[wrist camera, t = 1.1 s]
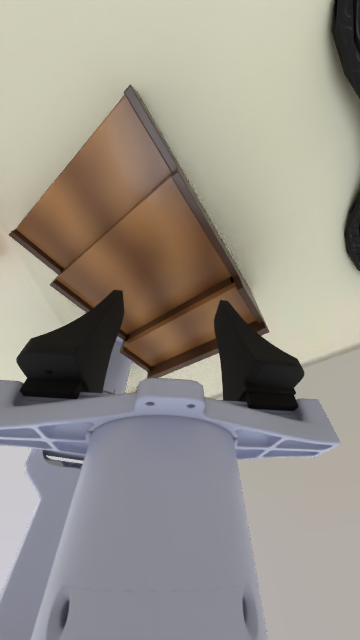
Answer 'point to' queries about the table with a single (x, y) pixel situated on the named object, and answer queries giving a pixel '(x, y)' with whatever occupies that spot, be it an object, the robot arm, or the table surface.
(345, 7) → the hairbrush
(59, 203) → the shelf rack
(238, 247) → the table surface
